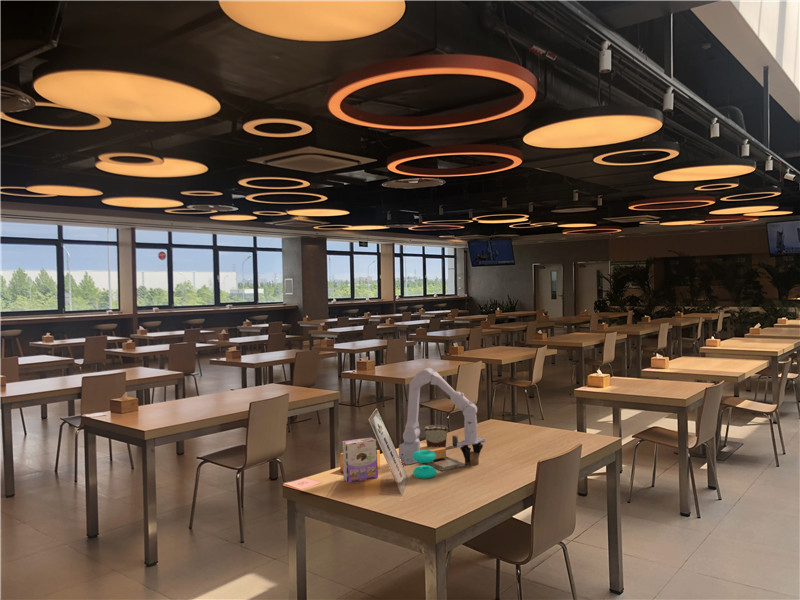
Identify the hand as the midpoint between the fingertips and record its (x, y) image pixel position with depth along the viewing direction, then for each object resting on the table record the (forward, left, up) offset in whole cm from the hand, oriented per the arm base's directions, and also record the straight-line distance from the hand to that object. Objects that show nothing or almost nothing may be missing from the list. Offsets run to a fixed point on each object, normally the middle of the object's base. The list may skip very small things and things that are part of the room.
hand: (471, 460), depth 266 cm
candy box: (-50, +12, -2) cm, 51 cm away
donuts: (-26, -1, -2) cm, 26 cm away
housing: (0, 0, -2) cm, 2 cm away
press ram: (-6, +14, 0) cm, 15 cm away
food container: (+5, +35, -2) cm, 35 cm away
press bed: (-10, +8, -1) cm, 13 cm away
